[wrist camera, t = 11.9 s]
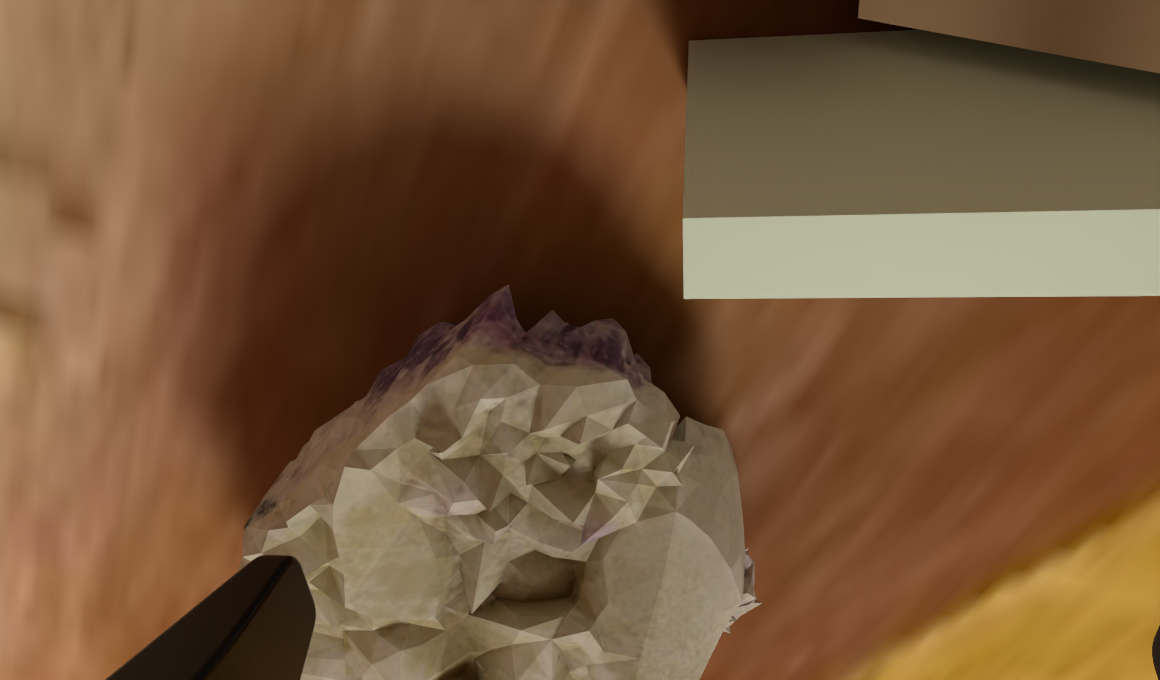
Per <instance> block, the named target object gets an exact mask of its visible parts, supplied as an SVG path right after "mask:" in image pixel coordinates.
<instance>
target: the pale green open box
mask: <svg viewBox="0 0 1160 680" xmlns="http://www.w3.org/2000/svg"><path fill="white" fill-rule="evenodd" d="M683 282H684V299H748V298H903V297H1059V296H1160V73H1154V72H1149V71H1143V70H1138V69H1133V68H1127V67H1122V66H1116V65H1111V64H1105V63H1100V62H1094V61H1089V60H1083V59H1078V58H1073V57H1067V56H1062V55H1056V54H1051V53H1045V52H1040V51H1034V50H1029V49H1023V48H1018V47H1013V46H1007V45H1002V44H996V43H991V42H985V41H980V40H974V39H969V38H963V37H958V36H953V35H947V34H942V33H936V32H931V31H925V30H902V31H881V32H860V33H838V34H817V35H796V36H775V37H754V38H732V39H711V40H690V41H689V49H688V79H687V109H686V139H685V169H684V199H683Z"/></svg>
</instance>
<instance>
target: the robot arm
mask: <svg viewBox="0 0 1160 680" xmlns="http://www.w3.org/2000/svg"><path fill="white" fill-rule="evenodd" d="M315 620H316V608H315V603H314V600H313V597H312V594H311V591H310V589H309V586H308V583H307V580H306V578H305V575H304V572H303V569H302V566H301V564H300V562H299V561H298V560H297V559H296V558H295V557H293V556H287V555H262V556H259V557H257V558H255V559H253V560H252V561H251V562H249V563H248V564H247V565H246V566H244V567H243V568H242V569H241V570H239V571H238V572H237V573H236V574H235V575H233V576H232V577H231V578H230V579H228V580H227V581H226V582H225V583H223V584H222V585H221V586H220V587H219V588H217V589H216V590H215V591H214V592H212V593H211V594H210V595H209V596H208V597H206V598H205V599H204V600H203V601H201V602H200V603H199V604H198V605H196V606H195V607H194V608H193V609H192V610H190V611H189V612H188V613H187V614H185V615H184V616H183V617H182V618H180V619H179V620H178V621H177V622H176V623H174V624H173V625H172V626H171V627H169V628H168V629H167V630H166V631H164V632H163V633H162V634H161V635H160V636H158V637H157V638H156V639H155V640H153V641H152V642H151V643H150V644H148V645H147V646H146V647H145V648H144V649H142V650H141V651H140V652H139V653H137V654H136V655H135V656H134V657H132V658H131V659H130V660H129V661H128V662H126V663H125V664H124V665H123V666H121V667H120V668H119V669H118V670H116V671H115V672H114V673H113V674H112V675H110V676H109V677H108V678H107V679H105V680H300V679H301V675H302V672H303V668H304V664H305V660H306V657H307V653H308V649H309V645H310V642H311V638H312V634H313V630H314V626H315ZM1152 656H1153V663H1154V667H1155V670H1156V673H1157V677H1158V680H1160V626H1159V628H1158V631H1157V633H1156V635H1155V637H1154V641H1153V647H1152Z"/></svg>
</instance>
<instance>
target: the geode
mask: <svg viewBox="0 0 1160 680" xmlns="http://www.w3.org/2000/svg"><path fill="white" fill-rule="evenodd" d="M679 418H680V415H679V413H678V412H677V410H676V409H675V407H674V406H673V404H672V403H671V402H670V400H669V399H668V397H667V396H666V394H665V393H664V392H663V391H662V390H660V389H659V388H657V387H656V386H654V385H653V384H652V381H651V371H650V366H649V365H648V364H647V363H646V362H645V361H644V360H643V359H642V358H641V357H640V356H639V355H638V354H637V353H636V354H635V355H633V352H632V349H631V346H630V342H629V339H628V336H627V333H626V331H625V330H624V329H623V328H622V327H621V325H620V324H619V323H618V322H617V321H616V320H614V319H600V320H594V321H592V322H590V323H588V324H586V325H584V326H582V327H578V326H573V325H569V324H568V322H567V323H565V322H564V321H563V320H562V319H561V318H560V317H559V316H558V315H557V314H556V313H555V312H554V310H552V311H550V312H549V313H548V314H547V315H546V316H545V317H544V318H542V319H541V320H540V321H539V322H538V323H537V324H536V325H534V326H533V327H532V328H531V329H530V330H529V331H527V332H526V330H525V329H524V328H523V327H522V326H521V325H520V323H519V322H518V320H517V318H516V313H515V309H514V305H513V300H512V296H511V291H510V287H509V285H507V286H505V287H503V288H502V289H500V290H498V291H496V292H495V293H493V294H491V295H489V296H488V297H487V298H486V299H485V300H484V301H483V302H482V303H481V304H480V305H479V306H478V307H477V308H476V309H475V310H474V311H473V313H472V314H471V315H470V316H469V317H468V318H467V319H466V320H464V321H461V322H458V323H455V322H439V323H437V324H435V325H434V326H432V327H431V328H429V329H427V330H426V331H424V332H423V333H421V334H420V335H418V336H417V338H416V340H415V342H414V343H413V345H412V347H411V349H410V351H409V353H408V355H407V357H405V358H403V359H401V360H399V361H398V362H396V363H394V364H392V365H390V366H388V367H386V368H384V369H383V370H381V371H380V373H379V374H378V376H377V378H376V380H375V381H374V383H373V385H372V387H371V389H370V390H369V392H368V394H367V396H366V397H364V398H363V399H361V400H360V401H355V403H354V405H352V406H351V407H349V408H348V409H346V410H345V411H343V412H342V413H340V414H339V415H337V416H336V417H334V418H333V419H331V420H330V421H328V422H327V423H325V424H324V425H322V426H321V427H319V428H318V429H316V430H315V431H314V432H313V434H312V436H311V438H310V440H309V442H307V443H306V444H305V445H304V446H303V447H302V449H301V451H300V453H299V455H298V456H297V458H296V459H295V460H293V461H291V462H289V463H288V465H287V466H286V467H285V469H284V470H283V471H282V473H281V474H280V475H279V477H278V478H277V480H276V481H275V482H274V484H273V485H272V486H271V488H270V489H269V490H268V492H267V493H266V494H265V496H264V497H263V499H262V500H261V502H260V503H259V505H258V506H257V508H256V509H255V511H254V512H253V514H252V516H251V517H250V519H249V520H248V522H247V523H246V525H245V526H244V538H243V551H242V560H241V563H240V566H239V569H238V571H239V570H241V569H242V568H243V567H244V566H246V565H247V564H248V563H249V562H251V561H252V560H253V559H255V558H257V557H259V556H262V555H287V556H293V557H295V558H296V559H297V560H298V561H299V562H300V564H301V566H302V569H303V572H304V575H305V578H306V580H307V583H308V586H309V589H310V591H311V594H312V597H313V600H314V603H315V608H316V620H315V626H314V630H313V634H312V638H311V642H310V645H309V649H308V653H307V657H306V660H305V664H304V668H303V672H302V675H301V679H300V680H699V679H700V677H701V675H702V673H703V671H704V669H705V667H706V665H707V663H708V661H709V659H710V657H711V655H712V653H713V651H714V649H715V647H716V645H717V642H718V640H719V638H720V636H721V634H722V632H723V631H725V632H728V633H730V625H732V624H733V623H734V622H735V621H736V620H737V619H738V618H739V617H740V616H741V615H743V614H745V613H746V612H748V611H750V610H751V609H753V608H755V607H756V606H758V605H760V604H762V603H761V602H759V601H757V600H756V595H755V591H754V584H755V575H754V560H752V559H751V558H750V557H749V555H748V553H747V550H748V549H747V548H745V543H744V528H743V513H742V504H741V495H740V486H739V477H738V471H737V467H736V463H735V459H734V455H733V451H732V448H731V445H730V443H729V441H728V439H727V437H726V435H725V433H724V431H723V429H719V428H715V427H712V426H708V425H704V424H702V423H700V422H698V421H695V420H693V419H691V418H689V417H685V418H684V419H683V421H682V422H681V423H680V424H679V425H677V424H678V421H679Z"/></svg>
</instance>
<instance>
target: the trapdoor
mask: <svg viewBox="0 0 1160 680" xmlns="http://www.w3.org/2000/svg"><path fill="white" fill-rule="evenodd" d="M858 18H860V19H865V20H871V21H876V22H882V23H887V24H893V25H898V26H903V27H909V28H914V29H920V30H925V31H931V32H936V33H942V34H947V35H953V36H958V37H963V38H969V39H974V40H980V41H985V42H991V43H996V44H1002V45H1007V46H1013V47H1018V48H1023V49H1029V50H1034V51H1040V52H1045V53H1051V54H1056V55H1062V56H1067V57H1073V58H1078V59H1083V60H1089V61H1094V62H1100V63H1105V64H1111V65H1116V66H1122V67H1127V68H1133V69H1138V70H1143V71H1149V72H1154V73H1160V0H860V1H859V11H858Z"/></svg>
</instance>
